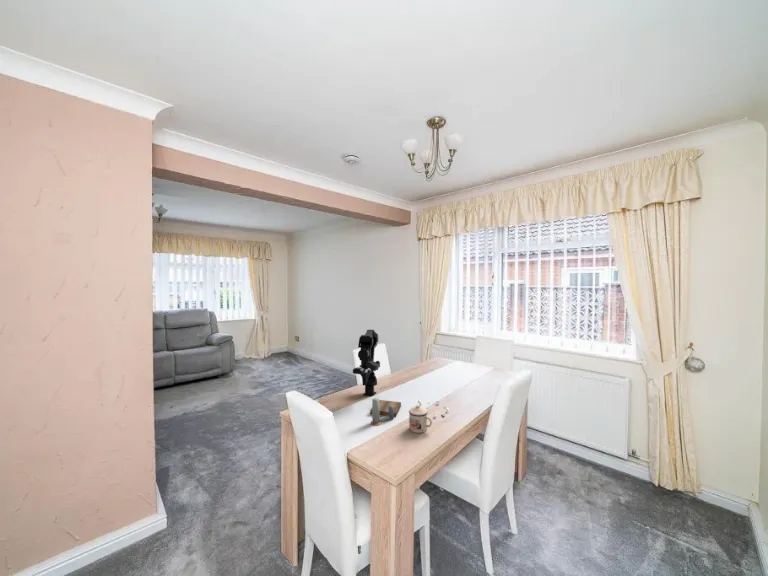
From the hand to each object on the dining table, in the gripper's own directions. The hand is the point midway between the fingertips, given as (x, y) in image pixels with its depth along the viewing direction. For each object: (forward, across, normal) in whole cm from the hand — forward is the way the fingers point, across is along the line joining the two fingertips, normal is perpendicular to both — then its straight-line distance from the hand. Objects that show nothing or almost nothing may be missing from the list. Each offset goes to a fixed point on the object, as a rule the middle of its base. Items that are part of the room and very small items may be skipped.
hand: (365, 383), depth 174 cm
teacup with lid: (+15, -11, -40) cm, 44 cm away
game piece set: (+13, +12, -37) cm, 41 cm away
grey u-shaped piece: (+13, -12, -19) cm, 26 cm away
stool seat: (+13, -6, -16) cm, 22 cm away
